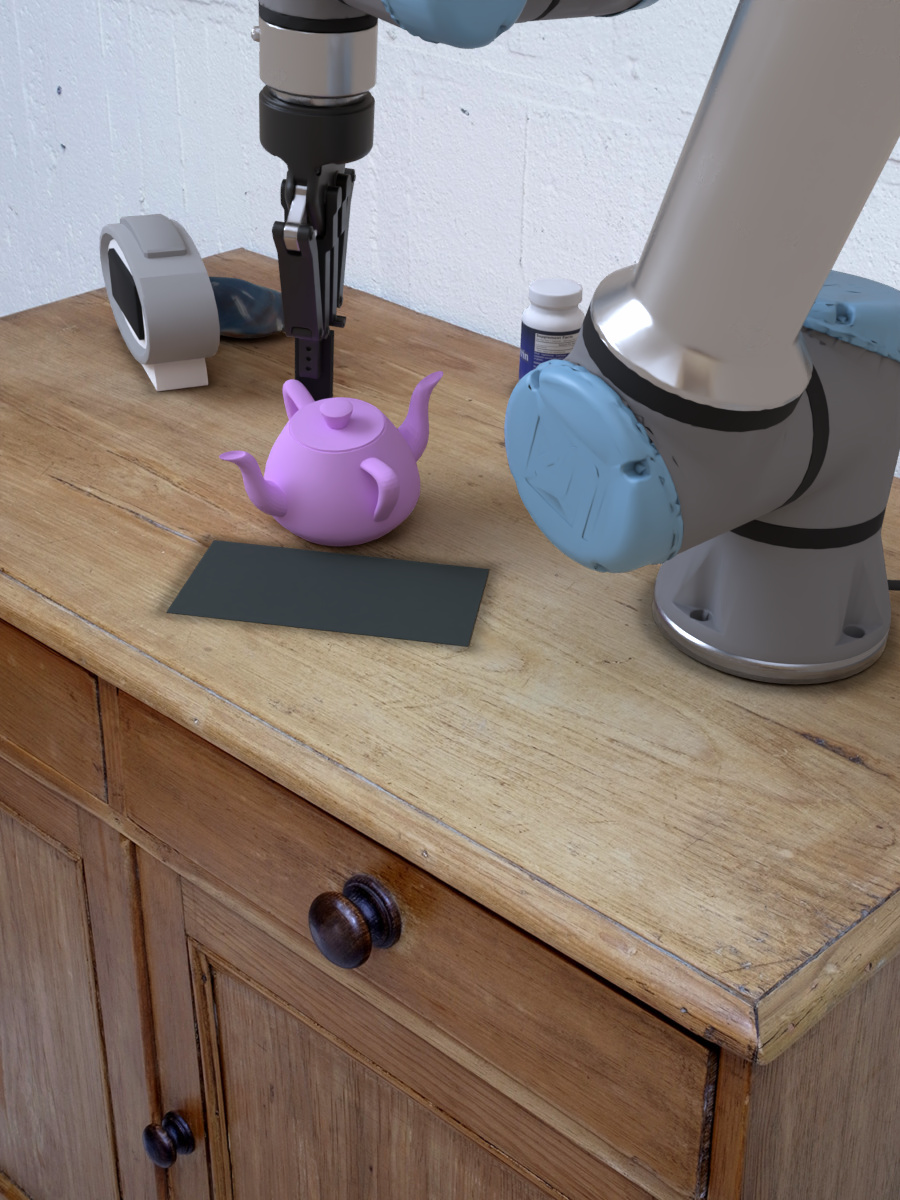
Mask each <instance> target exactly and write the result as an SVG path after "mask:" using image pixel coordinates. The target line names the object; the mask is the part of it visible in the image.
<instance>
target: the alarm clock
mask: <svg viewBox="0 0 900 1200" xmlns="http://www.w3.org/2000/svg"><path fill="white" fill-rule="evenodd" d="M98 247H99V248H98V249H99V260H100V267H101V272H102V273H101V274H102V277H103V282H104V283H103V284H104V286H105V291H106V295H107V298H108V302H109V305H110V308H111V310H112V314H113V317H114V321H115V322H116V325H117V327H118V330H119V332H120V335H121V338H122V339H123V341H124V343H125V345H126V347H127V349H128V351H129V352H130V354H131V356H132V357H133V358H134V359H135V360H136V361H137V362H138V363H139V364H140V365H141V366H142V368H143V369H144V371H145V373H146V375H147V376H148V378H149V380H150V381H151V384H152V385H153V387H154V389H155V391H157V392H163V391H171V390H178V389H187V388H188V389H189V388H195V387H202V386H208V385H209V378H208V377H209V376H208V371H207V370H208V369H207V364H206V358H207V359H208V358H214V357H215V355H216V354H217V353H218V350H219V347H220V342H221V341H220V340H221V339H220V338H221V335H220V326H219V318H218V310H217V306H216V301H215V297H214V292H213V289H212V286H211V283H210V279H209V277H210V276H209V273H208V270H207V268H206V266H205V263H204V261H203V259H202V256H201V254H200V251H199V250H198V248H197V245H196V244H195V242H194V240H193V239H192V237H191V235H190V234H189V233H188V231H187V229H186V228H185V227H184V226H183V225H182V224H181V223H179V221H178V220H175V219H173V218H169V217H168V216H166V215H164V214H162V213H153V214H140V215H128V216H121V217H120V218H119V222H117V223H108V224H106V225H104V226H102V228H101V230H100V234H99V243H98Z"/></svg>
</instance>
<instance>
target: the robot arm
mask: <svg viewBox="0 0 900 1200" xmlns="http://www.w3.org/2000/svg"><path fill="white" fill-rule="evenodd" d="M659 1H660V0H257V2H258V25H253V27H252V29H251V31H250V37H251V40H253V41H254V42H256V43H259V51H258V67H259V70H258V76H259V79H260V81H261V82H262V83H263V84H264V86H263V87H262V89H260V91H259V93H258V114H259V115H258V122H259V124H258V125H259V126H258V128H259V130H258V131H259V133H258V135H259V137H258V138H259V142H260V144H261V146H262V148H263V149H264V150H265V152H267V153H268V154H270V155H272V156H273V157H277V158H279V159H280V160H281V161H283V162H284V163H285V165H286V167H287V171H286V177H285V178H282V180H281V183H280V189H279V190H280V191H279V193H280V194H279V196H280V197H279V198H280V200H279V201H280V205H281V208H283V213H284V214H283V221H279V220H275V221H274V222H273V224H272V225H273V226H272V227H271V234H272V235H271V236H272V240H273V243H274V247H275V250H276V253H277V263H278V273H279V284H280V292H281V294H282V304H283V314H284V325H283V327H282V331H281V332H282V333H283V334H285V336H286V337H290V338H294V379H295V380H298V381H300V382H301V383H302V384H303V385H304V386H305V387H306V389H307V390H308V391H309V393H310V394H311V396H312V397H313V399H314V401H319V400H322V399H327V398H334V368H335V367H334V364H335V363H334V361H335V359H334V358H335V330H334V329H331V328H330V327H333V328H338V329H344V328H345V327H346V323H347V316H346V315H339V314H337V312H338V311H337V310H338V309H341V307H343V304H344V288H345V287H344V285H345V277H346V276H345V274H346V264H347V263H346V262H347V252H348V241H349V230H350V229H349V227H350V216H351V205H352V199H353V193H354V186H355V182H356V180H357V179H356V178H357V176H356V175H357V174H356V169H355V168H351V167H350V168H349V167H346V164H350V163H354V162H357V161H359V160H361V159H363V158H365V157H367V156H368V155H369V154H370V152H371V151H372V149H373V147H374V135H375V133H374V132H375V112H376V111H375V110H376V109H375V108H376V100H375V99H376V98H375V97H374V95H372V93H371V92H370V91H371V90H372V89H373V88H375V86H376V85H377V75H378V74H377V73H378V42H379V41H378V38H379V36H378V35H379V20H381V21H384V22H386V23H388V24H390V25H393V26H395V27H397V28H400V29H402V30H404V31H406V32H407V33H408V34H409V35H411V36H413V37H419V38H420V40H422V41H424V42H427V43H432V44H435V45H438V44H443V45H446V46H451V47H453V48H457V49H463V50H473V49H479V48H480V49H481V48H483V47H487V46H489V45H490V44H492V42H495V40H496V39H497V38H498V37H500V36H501V35H502V34H503V33H505V32H507V31H509V30H510V29H511V28H512V27H513V26H514V25H515V24H523V23H528V22H539V21H550V20H551V21H552V20H553V21H554V20H563V19H575V18H576V19H577V18H590V17H594V18H614V17H619V16H621V15H624V14H625V13H628V12H632V11H637V10H643V9H646V8H649V7H650V6H653V5H654V4H656V3H657V2H659ZM899 139H900V0H738V3H737V6H736V9H735V11H734V14H733V16H732V18H731V22H730V24H729V27H728V29H727V31H726V35H725V37H724V40H723V42H722V44H721V47H720V50H719V53H718V55H717V57H716V61H715V63H714V65H713V68H712V70H711V73H710V76H709V79H708V81H707V83H706V86H705V89H704V92H703V94H702V96H701V100H700V101H699V104H698V107H697V109H696V112H695V115H694V117H693V120H692V123H691V125H690V128H689V130H688V132H687V135H686V138H685V140H684V142H683V146H682V148H681V151H680V153H679V156H678V159H677V160H676V161H677V162H676V164H675V166H674V169H673V172H672V174H671V176H670V179H669V182H668V184H667V187H666V189H665V193H664V195H663V198H662V200H661V203H660V205H659V208H658V211H657V213H656V215H655V218H654V221H653V222H652V226H651V228H650V231H649V233H648V237H647V240H646V241H645V245H644V246H643V249H642V252H641V254H640V257H639V260H638V261H637V262H638V263H634V264H631V265H627V266H624V267H621V268H619V269H617V270H614V271H612V272H610V273H609V274H608V275H606V276H605V277H604V278H603V279H602V280H601V281H600V282H599V284H598V285H597V287H596V289H595V290H594V292H593V294H592V296H591V300H590V302H589V304H588V308H587V310H586V313H585V318H584V320H583V323H582V326H581V329H580V332H579V334H578V337H577V340H576V342H575V345H574V347H573V349H572V351H571V352H570V354H569V355H568V356H567V357H566V358H565V359H563V360H558V359H552V360H549V361H546V362H543V363H541V364H539V365H538V366H537V367H536V369H534V370H532V371H530V372H529V373H527V374H526V375H525V376H524V377H523V378H522V379H520V381H519V382H518V381H517V383H516V385H515V386H514V388H513V389H512V391H511V394H510V396H509V399H508V401H507V405H506V409H505V416H504V425H503V426H504V429H503V430H504V431H503V433H504V435H503V436H504V447H505V454H506V458H507V463H508V467H509V471H510V474H511V475H512V478H513V480H514V483H515V485H516V489H517V493H518V495H519V497H520V499H521V502H522V503H523V505H524V507H525V509H526V511H527V512H528V514H529V516H530V518H531V519H532V521H533V522H534V523H535V526H537V528H538V529H539V530H540V532H541V533H542V534H543V536H544V537H545V538H546V539H547V540H548V541H549V542H550V543H551V544H552V545H553V546H554V547H555V548H557V549H558V550H559V552H561V553H562V554H563V555H565V556H566V557H567V558H569V559H570V560H572V561H573V562H575V563H577V564H579V565H581V566H582V567H584V568H586V569H589V570H591V571H595V572H599V573H610V574H624V573H629V572H633V571H635V570H638V569H640V568H644V567H646V566H649V565H653V566H654V565H655V566H657V565H660V567H659V569H658V572H657V575H656V578H655V579H654V585H653V593H652V601H651V613H652V618H653V620H654V622H655V624H656V626H657V628H658V630H659V631H660V632H661V634H662V635H663V636H664V637H665V638H666V639H667V640H668V641H669V642H670V643H671V644H672V645H673V646H674V647H676V648H677V649H678V650H680V652H682V653H684V654H686V655H687V656H688V657H690V658H692V659H693V660H696V661H697V662H700V663H702V664H704V665H705V666H708V667H710V668H713V669H715V670H718V671H721V672H724V673H726V674H730V675H733V676H736V677H741V678H743V679H749V680H752V681H759V682H765V683H771V684H780V685H781V684H782V685H810V684H811V685H812V684H822V683H829V682H834V681H838V680H843V679H846V678H850V677H852V676H854V675H857V674H859V673H861V672H863V671H865V670H866V669H868V668H869V667H871V666H873V665H874V664H875V663H876V662H877V661H878V660H879V658H880V657H881V656H882V654H883V652H884V651H885V649H886V645H887V641H888V637H889V632H890V628H891V623H892V603H891V598H890V597H891V596H890V591H891V592H892V591H894V592H895V591H897V592H900V579H888V575H887V568H886V560H885V554H884V545H883V538H882V528H883V524H884V520H885V516H886V515H885V514H886V510H887V506H888V502H889V499H890V493H891V490H892V486H893V483H894V482H893V481H894V477H895V473H896V469H897V464H898V459H899V456H900V289H897V288H895V287H892V286H891V285H888V284H885V283H883V282H879V281H876V280H874V279H870V278H867V277H864V276H860V275H855V274H852V273H847V272H843V271H838V270H833V268H834V265H835V264H836V262H837V260H838V258H839V256H840V254H841V252H842V250H843V248H844V246H845V244H846V242H847V240H848V238H849V237H850V235H851V233H852V231H853V228H854V227H855V226H856V223H857V221H858V219H859V218H860V215H861V213H862V211H863V210H864V209H863V208H864V207H865V205H866V203H867V201H868V200H869V198H870V195H871V194H872V191H873V190H874V188H875V186H876V184H877V182H878V181H879V178H880V176H881V174H882V173H883V170H884V168H885V166H886V164H887V162H888V161H889V158H890V156H891V154H892V153H893V151H894V149H895V147H896V145H897V143H898V141H899Z"/></svg>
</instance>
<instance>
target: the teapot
mask: <svg viewBox="0 0 900 1200" xmlns="http://www.w3.org/2000/svg"><path fill="white" fill-rule="evenodd" d="M443 377H444V371H442V370H436V371H434V372H431V373H430V374H428V375H426V376H425V377H423V378H422V379H420V381H419V382H418V383H417V384H416V386H415V387H414V388H413V391H412V393H411V397H410V400H409V406H408V411H407V413H406V416H405V418H404V420H403V422H402V423H401V424H400V425H399V426H398V428H397V427H396V426H395V424H394V423H393V422H392V421H391V420H390V419H389V417H387V415H386V414H385V413H383V412H382V411H381V410H380V409H379V408H378V407H376V406H375V405H374V404H371V403H369V402H367V401H365V400H361V399H358V398H353V397H340V396H338V397H337V396H336V397H333V398H327V399H322V400H319V401H314V399H313V397H312V396H311V394H310V393H309V391H308V390H307V389H306V387H305V386H304V385H303V384H302V383H301V382H300V381H298V380H295V378H292V379H291V378H290V379H288V380H285V382H284V383H283V385H282V397H283V398H282V399H283V403H284V407H285V412H286V415H287V420H288V421H287V422H286V424H285V425H284V427H283V428H282V430H281V431H280V433H279V435H278V436H277V437H276V440H274V443H273V445H272V447H271V449H270V452H269V454H268V457H267V460H266V464H265V467H264V474H263V473H262V470H261V468H260V464H259V463H258V461H257V460H256V458H255V457H254V456H253V455H252V454H251V453H250V452H248V451H246V450H245V451H244V450H230V451H225V452H223V453H220V454H219V456H218V458H219V459H221V460H222V461H225V462H229V463H233V464H234V465H236V466H237V467H238V468H239V470H240V472H241V477H242V480H243V487H244V490H245V493H246V495H247V497H248V499H249V501H250V502H251V503H252V505H254V506H255V507H256V509H258V510H259V511H260V512H262V513H264V514H266V515H268V516H271V517H273V519H274V520H275V521H276V522H277V523H278V524H279V525H280V526H282V528H284V529H286V530H287V531H288V532H290V533H291V534H293V535H295V536H297V537H298V538H300V539H302V540H304V541H308V542H310V543H313V544H317V545H321V546H327V547H351V546H357V545H358V546H359V545H363V544H366V543H370V542H373V541H375V540H378V539H379V538H382V537H384V536H386V535H387V534H389V533H390V532H392V531H393V530H395V529H396V528H397V527H398V526H400V525H401V524H402V523H404V521H406V519H407V518H408V517H410V515H411V514H412V512H413V511H414V509H415V508H416V506H417V503H418V501H419V499H420V495H421V477H420V473H419V468H418V464H417V462H418V461H419V460H420V459H421V458H422V456H423V454H424V452H425V450H426V449H427V446H428V442H429V437H430V421H429V420H430V419H429V403H430V398H431V395H432V393H433V390H434V388H435V387H436V386H437V384H439V382H440V381H441V380H442V378H443Z"/></svg>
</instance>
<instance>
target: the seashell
mask: <svg viewBox="0 0 900 1200" xmlns="http://www.w3.org/2000/svg"><path fill="white" fill-rule="evenodd" d="M209 279H210V283H211V286H212V289H213V292H214V297H215V301H216V306H217V310H218V318H219V326H220V336H223V337H229V338H234V339H245V340H247V339H259V338H266V337H269V336H271V335H275V334H278V333H281V332H282V327H283V325H284V314H283V304H282V294H281V291H278V290H276V289H272V288H270V287H267V286H264V285H259V284H256V283H253V282H250V281H248V280H245V279H242V278H237V277H227V276H209Z"/></svg>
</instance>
